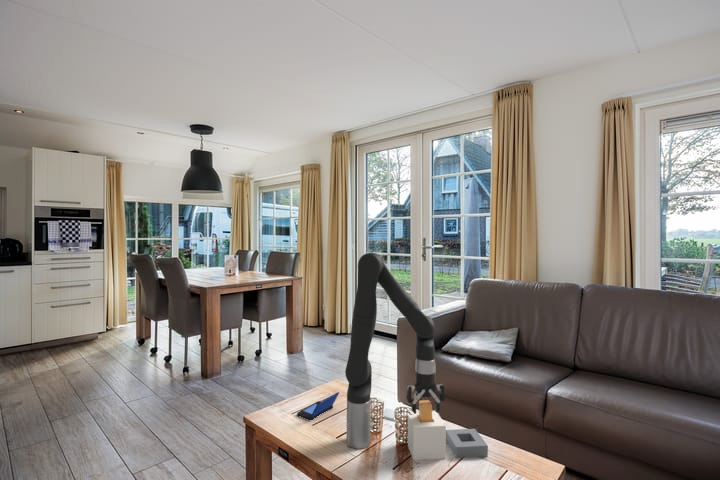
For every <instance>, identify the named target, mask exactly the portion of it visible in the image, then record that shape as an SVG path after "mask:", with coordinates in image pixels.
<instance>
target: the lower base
mask: <svg viewBox="0 0 720 480" xmlns="http://www.w3.org/2000/svg"><path fill="white" fill-rule="evenodd" d="M446 444H448V446H449V448H450V450H451V451H452V454H453V455H454V457H455V458H456V459H462V458H479V457H485V458H486V457H488V455H489V451H488V450H489V448H488V447H489V445H488V444H487V442H486V441H485V440H484V439H483V437H482V435H480V433H479V431H477V429H475V428H459V429H457V428H456V429H446Z"/></svg>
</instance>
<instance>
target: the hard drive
mask: <svg viewBox="0 0 720 480" xmlns="http://www.w3.org/2000/svg"><path fill="white" fill-rule="evenodd" d="M384 407H385V406H384ZM394 410H395V409H393V408H389V407H385V410H384V418H383V419H385V420H389V421H393V422H395V421H394Z"/></svg>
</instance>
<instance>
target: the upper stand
mask: <svg viewBox="0 0 720 480" xmlns="http://www.w3.org/2000/svg"><path fill="white" fill-rule="evenodd" d="M410 413H411V414H412V415H408V441H407V442H406V444H407V443H408V445H407V447H408V449H409V452H410V455H411V457H412V460H413V461H422V460H439V459H440V460H441V459H445V460H446V457H447V455H446V452H447V451H446V450H447V446H446V445H447V441H446V430H447V429H446V428H447V425H446V424H445V422H444V421H443V419H442V417H441V416H440V414H439V412H438V413H436V412H435V409H434V410H432V422H420V421H419V410H416V414H414V412H413V411H412V410H411V411H410Z"/></svg>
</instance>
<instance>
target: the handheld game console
mask: <svg viewBox="0 0 720 480" xmlns="http://www.w3.org/2000/svg"><path fill="white" fill-rule="evenodd" d="M339 394H340V392H339V391H338V392H335V393H334V394H333V395H331V396H329V397H327V398H325V399H323V400H322V401H321V400H320V401H316V402H314V403H312V404H310V405H308V406H306V407H305V408H303V409H302V410H300V411H298V412H297V413H296V416H297V415H298V416H297V417H299V416H301V417H303V418H302V419H304V418H305V419H304V420H306V419H308V420H307V421H309V420H313V419H314V418H316V417H317V416H319V415H320V414H321V415H323V414H325V413H327V412H328V410H329V411H330V409H331V410H332V409H333V408H334V403H335V401H336V400H337V398H338V396H339ZM326 411H327V412H326ZM324 412H325V413H324ZM322 413H323V414H322ZM321 415H320V416H321ZM320 416H319V417H320ZM301 417H300V418H301ZM317 418H318V417H317ZM317 418H316V419H317ZM314 420H315V419H314ZM314 420H313V421H314Z"/></svg>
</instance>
